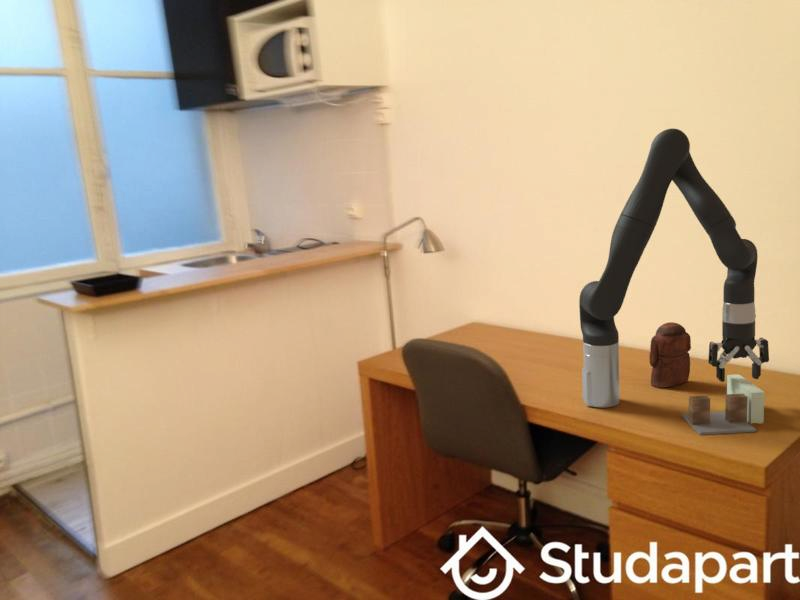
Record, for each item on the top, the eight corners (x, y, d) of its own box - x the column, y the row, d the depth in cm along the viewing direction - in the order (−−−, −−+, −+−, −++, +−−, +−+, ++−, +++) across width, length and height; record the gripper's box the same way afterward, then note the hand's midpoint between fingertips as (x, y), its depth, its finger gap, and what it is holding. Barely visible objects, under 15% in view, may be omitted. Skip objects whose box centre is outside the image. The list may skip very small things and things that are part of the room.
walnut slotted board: (692, 424, 169) (692, 399, 167) (688, 421, 171) (688, 396, 170) (747, 421, 168) (747, 396, 167) (742, 418, 170) (743, 393, 169)
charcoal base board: (699, 434, 164) (699, 432, 164) (681, 416, 176) (681, 413, 176) (756, 431, 163) (756, 429, 163) (734, 413, 175) (734, 411, 175)
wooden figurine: (675, 376, 205) (676, 317, 202) (692, 382, 200) (693, 321, 196) (645, 384, 201) (644, 324, 197) (661, 390, 195) (661, 328, 191)
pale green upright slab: (750, 424, 168) (751, 392, 167) (726, 404, 182) (727, 375, 180) (763, 423, 168) (764, 392, 167) (738, 403, 182) (739, 374, 180)
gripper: (760, 313, 179) (759, 373, 182) (704, 317, 179) (704, 377, 183) (774, 319, 171) (773, 382, 174) (716, 324, 172) (716, 386, 175)
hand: (738, 379), depth 178 cm, fingers open, 8 cm apart
